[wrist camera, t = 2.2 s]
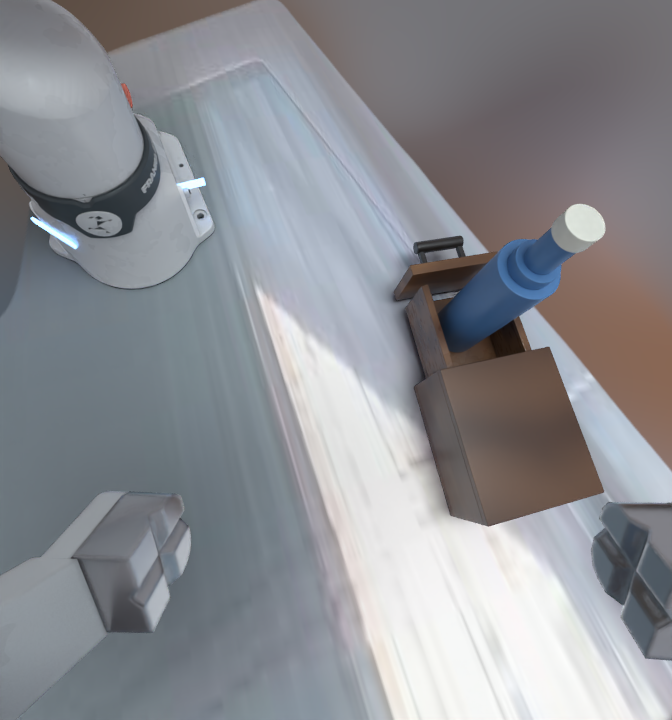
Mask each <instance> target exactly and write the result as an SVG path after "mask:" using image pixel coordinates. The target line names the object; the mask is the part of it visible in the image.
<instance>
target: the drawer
mask: <svg viewBox="0 0 672 720" xmlns="http://www.w3.org/2000/svg"><path fill="white" fill-rule="evenodd" d="M462 246H463V238H462V236H455V237H448V238H441V239H434V240H428V241H421V242H415V243H414V246H413V249H414V253H415V254H418V256H419V259H420V262H421V264H416V265H410V266H409V268H408V270H407V271H406V273H405V275H404V276H403V278H402V280H401V281H400V283H399V285H398V286H397V288H396V289H395V291H394V294H395V297H396V300H401V299H407V298H412V300H411V301H410V302H409V304H408V305H407V306H406V308H405V309H406V312H407V316H408V319H409V323H410V326H411V329H412V333H413V336H414V339H415V343H416V346H417V350H418V353H419V356H420V360H421V363H422V367H423V370H424V373H425V377H426V379H427V378H428V377H430V376H431V375H433V374H435V373H436V372H438V371H439V370H441V369H446V368H451V367H456V366H460V365H465V364H470V363H474V362H479V361H484V360H489V359H493V358H498V357H503V356H508V355H512V354H517V353H522V352H526V351H531V347H530V345H529V342H528V339H527V336H526V334H525V331H524V328H523V326H522V323H521V320H520V317H519V316H518V317H517V318H515V319H514V320H512V321H511V322H509V323H508V324H506V325H505V326H503V327H502V328H500V329H499V330H497V331H496V332H494V333H492V334H491V335H489V336H488V337H486V338H485V339H483V340H482V341H480V342H479V343H477V344H476V345H474V346H473V347H471V348H470V349H468V350H466V351H464V352H451V351H449V349H448V346H447V343H446V340H445V337H444V334H443V330H442V327H441V324H440V321H439V318H438V313H439V312H440V311H441V310H442V309H443V308H444V307H445V306H446V305H447V304H448V303H449V302H450V301H451V300H452V299H453V298H454V297H453V298H448V299H442V300H436V301H433V299H432V295H431V294H435V293H441V292H447V291H453V290H458V289H463V288H464V287H465V286H466V285H467V283H468V282H469V281H470V280H471V279H472V278H473V277H474V276H475V275H476V274H477V273H478V272H479V271H480V270H481V269H482V268H483V267H484V266H485V265H486V264H487V263H488V262H489V261H490V260H491V259H492V258H493V257H494V256H495V255H496V254H497V253H498V252H499V251H498V252H491V253H485V254H479V255H473V256H465V253H464V250H463V247H462ZM454 248H456V251H457V254H458V257H459V258H454V259H447V260H441V261H435V262H428V263H427V259H426V256H425V253H428V252H434V251H441V250H447V249H454Z"/></svg>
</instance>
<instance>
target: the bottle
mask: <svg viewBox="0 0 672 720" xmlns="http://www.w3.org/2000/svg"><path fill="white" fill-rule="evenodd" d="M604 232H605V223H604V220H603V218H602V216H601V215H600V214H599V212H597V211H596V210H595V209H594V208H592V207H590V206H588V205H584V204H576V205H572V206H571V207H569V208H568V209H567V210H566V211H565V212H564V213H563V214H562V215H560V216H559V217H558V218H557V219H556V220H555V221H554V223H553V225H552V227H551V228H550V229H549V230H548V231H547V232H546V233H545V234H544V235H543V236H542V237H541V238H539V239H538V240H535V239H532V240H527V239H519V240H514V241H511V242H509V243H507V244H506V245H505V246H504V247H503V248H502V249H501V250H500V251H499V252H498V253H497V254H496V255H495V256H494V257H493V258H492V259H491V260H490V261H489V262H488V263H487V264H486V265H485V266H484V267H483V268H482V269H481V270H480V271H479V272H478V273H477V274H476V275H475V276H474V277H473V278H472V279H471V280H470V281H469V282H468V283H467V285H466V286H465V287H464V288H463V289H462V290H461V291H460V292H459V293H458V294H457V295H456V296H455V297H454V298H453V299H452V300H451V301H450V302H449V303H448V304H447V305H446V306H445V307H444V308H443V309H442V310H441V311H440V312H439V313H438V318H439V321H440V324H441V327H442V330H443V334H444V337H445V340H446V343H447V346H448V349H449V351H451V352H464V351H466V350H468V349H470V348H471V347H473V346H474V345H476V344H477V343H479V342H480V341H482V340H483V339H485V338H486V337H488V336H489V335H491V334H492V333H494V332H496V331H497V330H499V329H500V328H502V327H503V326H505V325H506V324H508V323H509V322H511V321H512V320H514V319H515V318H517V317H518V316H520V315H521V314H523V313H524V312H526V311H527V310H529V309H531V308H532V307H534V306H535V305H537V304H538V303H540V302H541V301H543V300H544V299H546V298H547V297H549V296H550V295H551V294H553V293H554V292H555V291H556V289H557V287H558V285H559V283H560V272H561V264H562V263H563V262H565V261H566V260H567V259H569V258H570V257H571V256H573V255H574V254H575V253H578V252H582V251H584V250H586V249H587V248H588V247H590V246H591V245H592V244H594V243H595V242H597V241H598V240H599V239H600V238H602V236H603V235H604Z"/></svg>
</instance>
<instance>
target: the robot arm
mask: <svg viewBox="0 0 672 720" xmlns="http://www.w3.org/2000/svg"><path fill="white" fill-rule="evenodd" d="M131 108H132V99H131V96H130V93H129V90H128V88H127V86H126V85H125V84H121V83H120V81H119V79H118V77H117V74H116V72H115V70H114V67H113V65H112V63H111V60H110V58H109V56H108V54H107V52H106V51H105V49H104V48H103V46H102V45H101V44H100V42H99V41H98V40H97V39H96V38H95V37H94V35H93V34H92V33H91V32H90V31H89V30H88V29H87V28H86V27H85V26H84V25H83V24H82V23H81V22H80V21H79V20H78V19H77V18H75V16H73V15H72V14H71V13H70V12H68V11H67V10H66V9H64V8H63V7H61V6H60V5H58V4H56V3H55V2H53V1H51V0H0V156H1V158H3V159H4V161H5V162H6V163H7V164H8V167H9V169H10V172H11V173H12V175H13V177H14V178H15V179H16V180H17V182H18V183H19V185H20V187H21V188H22V190H23V191H24V192H25V193H26V194H27V195H28V196H29V198H30V199H31V201H30V202H29V206H30V208H31V210H32V211H33V213H34V214H35V215H36V216H37V218H38V219H39V220H40V221H41V222H40V221H39V220H37V219H35V218H34V217H32V218H31V220H32V221H33V222H34V223H35V224H37V225H38V226H40V227H41V228H43V229H45V230H46V231H48V232H49V233H50V238H49V244H50V246H51V248H52V249H53V250H54V251H55V252H56V253H57V254H59V255H61V256H63V257H65V258H68V259H71V260H73V261H75V262H77V263H78V264H79V265H80V266H81V267H82V268H83V269H84V270H85V271H86V272H87V273H88V274H90V275H91V276H92V277H94V278H95V279H97V280H98V281H100V282H102V283H105V284H107V285H110V286H114V287H119V288H128V289H135V288H144V287H149V286H153V285H156V284H159V283H161V282H163V281H165V280H167V279H169V278H171V277H172V276H174V275H175V274H176V273H178V272H179V271H180V270H181V269H182V268H183V267H184V266H185V265H186V263H187V262H188V261H189V259H190V258H191V256H192V254H193V252H194V251H195V249H196V247H197V246H198V245H199V244H200V243H201V242H203V241H204V240H205V239H206V238H208V237H209V236H210V235H211V234H212V233H213V232H214V229H215V225H214V222H213V220H212V217H211V215H210V213H209V210H208V208H207V206H206V203H205V201H204V198H203V196H202V194H201V191H200V189H199V186H203V185H206V184H205V181H204V178H200V179H196V180H195V177H194V175H193V173H192V170H191V168H190V165H189V163H188V161H187V158H186V156H185V154H184V151H183V149H182V147H181V145H180V143H179V141H178V139H177V138H176V137H175V136H173V135H170V134H168V133H165V132H161V131H157V129H156V126H155V124H154V122H153V121H152V120H150V119H149V118H147V117H145V116H142V115H139V114H134V113H133V111H132V109H131ZM199 217H204V218H203V219H198V218H199ZM184 509H185V508H184V505H183V501H182V498H181V496H180V495H178V494H175V493H153V492H131V491H130V492H119V491H105V492H103V493H100V494H98V495H97V496H96V497H95V498H94V500H93V501H92V502H91V503H90V504H89V505H88V506H87V507H86V508H85V509H84V510H83V512H82V513H81V514H80V515H79V516H78V517H77V518H76V519H75V520H74V521H73V523H72V524H71V525H70V526H69V527H68V528H67V529H66V530H65V531H64V532H63V533H62V535H61V536H60V537H59V538H58V539H57V540H56V541H55V542H54V543H53V544H52V546H51V547H50V548H49V549H48V550H47V551H46V552H45V553H44V554H43V555H42V556H41V557H32V558H30V559H29V560H27V561H25V562H23V563H21V564H20V565H18V566H16V567H14V568H13V569H11V570H9V571H7V572H6V573H4V574H2V575H0V720H16V719H17V718H19V717H20V716H21V715H22V714H23V713H24V712H25V711H26V710H27V709H28V708H29V707H30V706H31V705H33V704H34V703H35V702H36V701H37V700H38V699H39V698H40V697H41V696H42V695H43V694H44V693H45V692H47V691H48V690H49V689H50V688H51V687H52V686H53V685H54V684H55V683H56V682H57V681H58V680H60V679H61V678H62V677H63V676H64V675H65V674H66V673H67V672H68V671H69V670H70V669H71V668H72V667H74V666H75V665H76V664H77V663H78V662H79V661H80V660H81V659H82V658H83V657H84V656H85V655H86V654H88V653H89V652H90V651H91V650H92V649H93V648H94V647H95V646H96V645H97V644H98V643H99V642H101V641H102V640H103V639H104V638H105V637H106V636H107V632H128V633H153V632H154V630H155V628H156V626H157V624H158V622H159V620H160V618H161V616H162V614H163V612H164V610H165V608H166V606H167V604H168V602H169V600H170V598H171V597H170V593H169V588H168V586H169V585H171V584H172V583H173V582H174V581H176V580H177V579H178V578H179V577H181V575H182V573H183V571H184V569H185V567H186V565H187V562H188V558H189V554H190V549H191V533H190V529H189V526H188V525H187V524H186V523H185V522H184V521H183V520H182V519H181V518H180V516H181V515H182V513H183V511H184ZM599 519H600V521H601V522H602V524H603V525H604V527H605V529H603V530H602V531H601V532H600V533H598V534H597V535H596V536H595V537H594V539H593V544H592V548H591V555H592V563H593V568H594V570H595V573H596V576H597V578H598V580H599V582H600V584H601V585H602V587H603V589H604V591H605V592H606V593H607V594H608V595H610V596H611V597H612V598H614V599H615V600H616V601H618V602H619V603H620V604H622V610H621V619H622V621H623V622H624V624H625V625H626V627H627V629H628V630H629V632H630V634H631V635H632V637H633V639H634V640H635V642H636V644H637V645H638V647H639V648H640V650H641V652H642V653H643V655H644V657H645V658H647V659H660V660H672V503H628V502H608V503H607V504H606V505H605V506H604V507H603V508H602V511H601V514H600V518H599Z"/></svg>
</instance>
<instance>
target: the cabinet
mask: <svg viewBox="0 0 672 720" xmlns="http://www.w3.org/2000/svg"><path fill="white" fill-rule="evenodd" d="M414 389H415V392H416V396H417V399H418V403H419V406H420V410H421V413H422V417H423V420H424V424H425V427H426V431H427V434H428V438H429V441H430V445H431V448H432V452H433V455H434V459H435V462H436V466H437V469H438V473H439V476H440V480H441V483H442V487H443V490H444V494H445V497H446V501H447V504H448V508H449V511H450V515H451V516H454V517H457V518H461V519H464V520H468V521H471V522H474V523H478V524H481V525H485V526H492V525H495V524H499V523H502V522H505V521H509V520H512V519H516V518H519V517H522V516H526V515H529V514H533V513H536V512H539V511H543V510H546V509H549V508H553V507H556V506H560V505H563V504H566V503H570V502H573V501H577V500H580V499H583V498H587V497H590V496H594V495H597V494H600V493H604V490H603V487H602V484H601V482H600V479H599V476H598V474H597V471H596V468H595V466H594V463H593V461H592V458H591V455H590V453H589V450H588V447H587V445H586V442H585V439H584V437H583V434H582V432H581V429H580V426H579V424H578V421H577V418H576V416H575V413H574V411H573V408H572V405H571V403H570V400H569V397H568V395H567V392H566V389H565V387H564V384H563V382H562V379H561V376H560V374H559V371H558V368H557V366H556V363H555V360H554V358H553V355H552V353H551V350H550V347H545V348H541V349H536V350H531V351H526V352H522V353H517V354H512V355H508V356H503V357H498V358H493V359H489V360H484V361H479V362H474V363H470V364H465V365H460V366H456V367H451V368H446V369H441V370H439V371H438V372H436V373H435V374H433V375H431V376H430V377H428V378H427V379H425V380H424V381H422V382H421V383H419V384H417V385H416V386H415V387H414Z"/></svg>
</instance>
